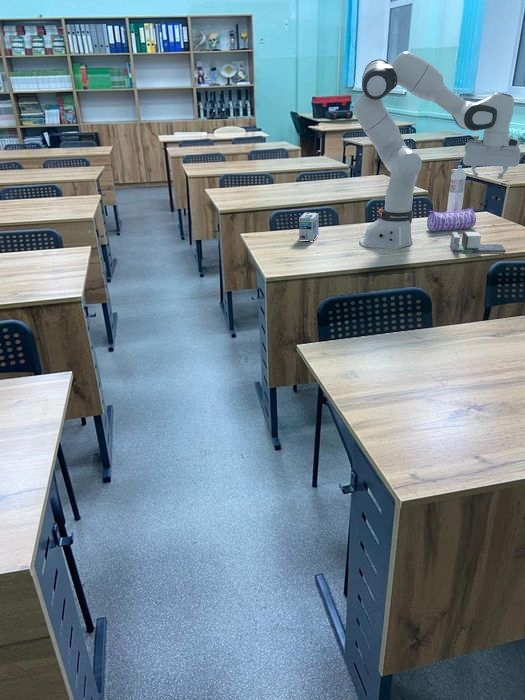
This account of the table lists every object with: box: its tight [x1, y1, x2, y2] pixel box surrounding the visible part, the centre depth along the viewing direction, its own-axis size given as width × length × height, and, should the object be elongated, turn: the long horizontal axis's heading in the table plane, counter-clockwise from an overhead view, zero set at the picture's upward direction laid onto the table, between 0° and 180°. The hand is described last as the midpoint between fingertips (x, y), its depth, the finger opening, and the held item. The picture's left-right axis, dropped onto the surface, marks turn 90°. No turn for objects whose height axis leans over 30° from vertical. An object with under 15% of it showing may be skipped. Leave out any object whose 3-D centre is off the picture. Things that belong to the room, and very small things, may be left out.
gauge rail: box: [449, 231, 506, 254], centre depth 212 cm, size 20×8×6 cm, turn 80°
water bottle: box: [446, 165, 467, 212], centre depth 252 cm, size 7×7×25 cm
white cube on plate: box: [461, 230, 482, 249], centre depth 212 cm, size 6×8×5 cm, turn 170°
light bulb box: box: [298, 212, 320, 241], centre depth 234 cm, size 11×7×11 cm, turn 161°
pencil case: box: [426, 207, 477, 232], centre depth 239 cm, size 22×9×10 cm, turn 104°
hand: (487, 177), depth 205 cm, fingers open, 8 cm apart
